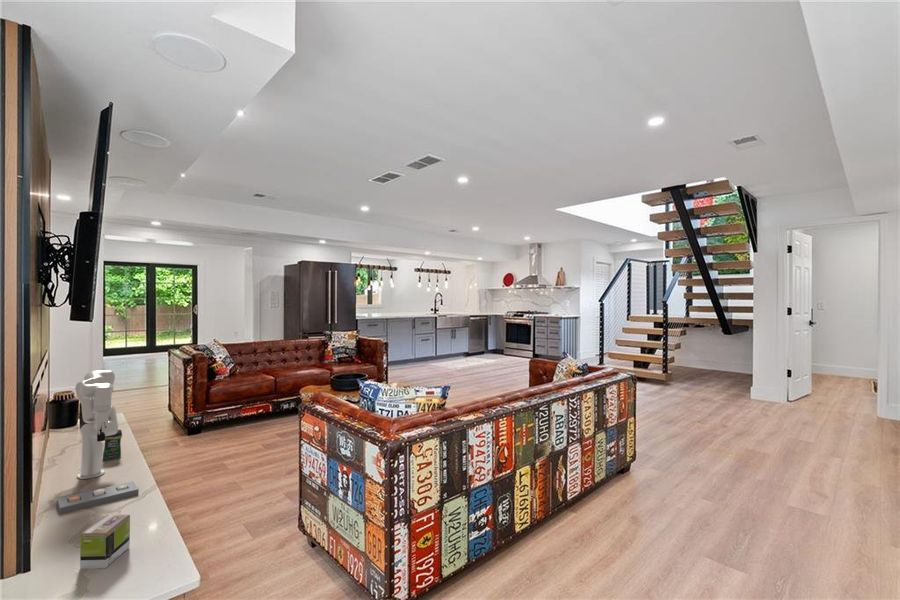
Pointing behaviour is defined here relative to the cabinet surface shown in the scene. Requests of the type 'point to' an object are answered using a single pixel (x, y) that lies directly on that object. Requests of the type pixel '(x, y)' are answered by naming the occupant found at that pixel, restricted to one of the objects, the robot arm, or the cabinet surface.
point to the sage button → (121, 487)
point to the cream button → (99, 492)
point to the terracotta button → (74, 498)
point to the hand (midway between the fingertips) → (100, 440)
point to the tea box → (104, 541)
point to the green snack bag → (112, 446)
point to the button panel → (96, 497)
